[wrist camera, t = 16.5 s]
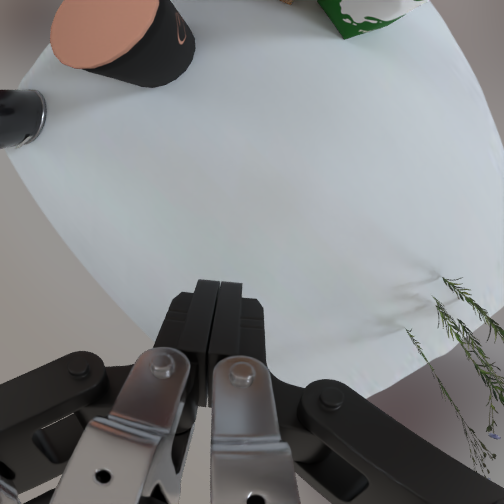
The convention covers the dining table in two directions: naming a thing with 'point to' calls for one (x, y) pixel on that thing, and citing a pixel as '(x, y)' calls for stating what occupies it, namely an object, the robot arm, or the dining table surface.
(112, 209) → the dining table surface
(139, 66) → the coffee jar
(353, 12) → the milk carton
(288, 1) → the oak block
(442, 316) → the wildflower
